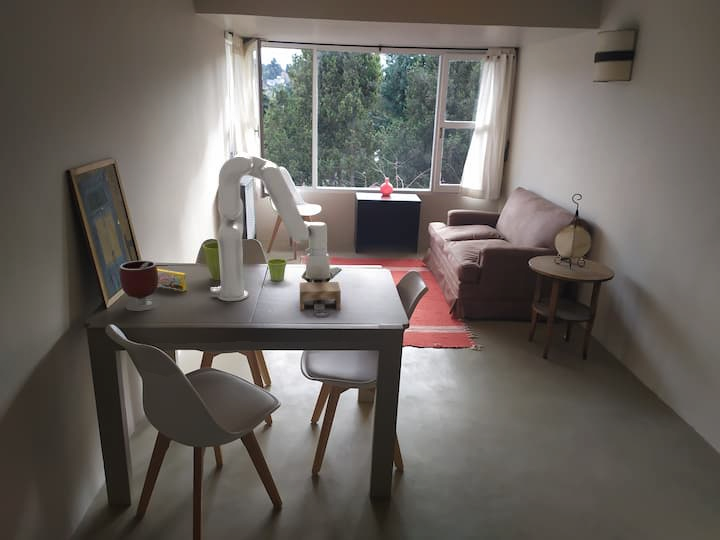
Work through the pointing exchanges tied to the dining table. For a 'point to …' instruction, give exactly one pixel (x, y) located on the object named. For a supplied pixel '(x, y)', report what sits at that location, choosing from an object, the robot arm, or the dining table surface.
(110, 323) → the dining table surface
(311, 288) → the walnut shelf
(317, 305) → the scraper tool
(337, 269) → the stone slab
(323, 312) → the steel disc
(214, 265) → the flower pot
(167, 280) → the candy box
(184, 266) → the dining table surface
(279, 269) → the plant pot
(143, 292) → the mate gourd
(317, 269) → the robot arm
